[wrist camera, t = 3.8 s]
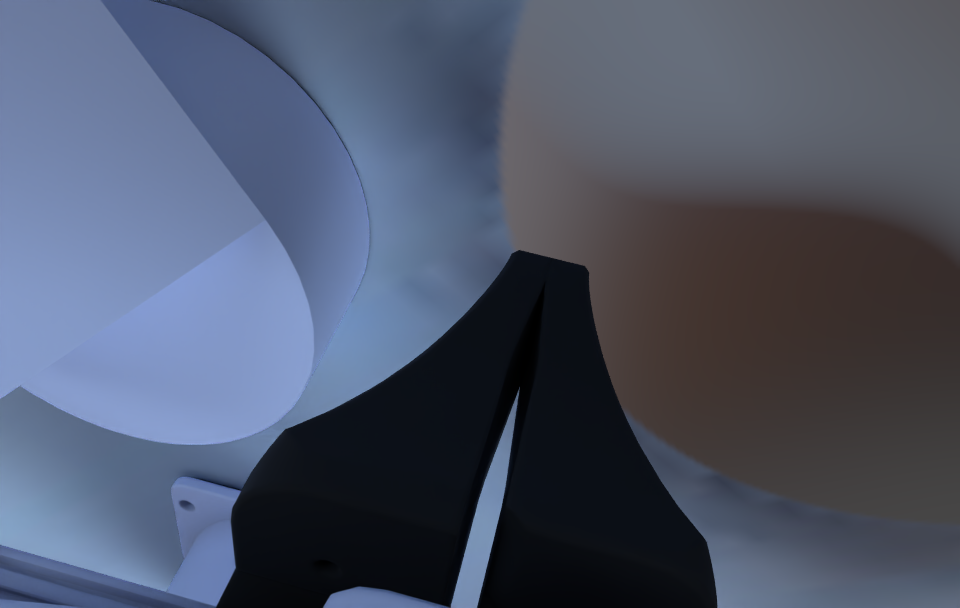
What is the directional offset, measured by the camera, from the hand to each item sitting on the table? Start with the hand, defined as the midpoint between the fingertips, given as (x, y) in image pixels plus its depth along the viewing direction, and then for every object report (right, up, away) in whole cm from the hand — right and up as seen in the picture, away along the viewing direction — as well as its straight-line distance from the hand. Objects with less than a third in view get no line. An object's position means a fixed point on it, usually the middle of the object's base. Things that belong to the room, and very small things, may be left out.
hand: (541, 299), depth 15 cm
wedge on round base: (-9, +4, +3) cm, 10 cm away
